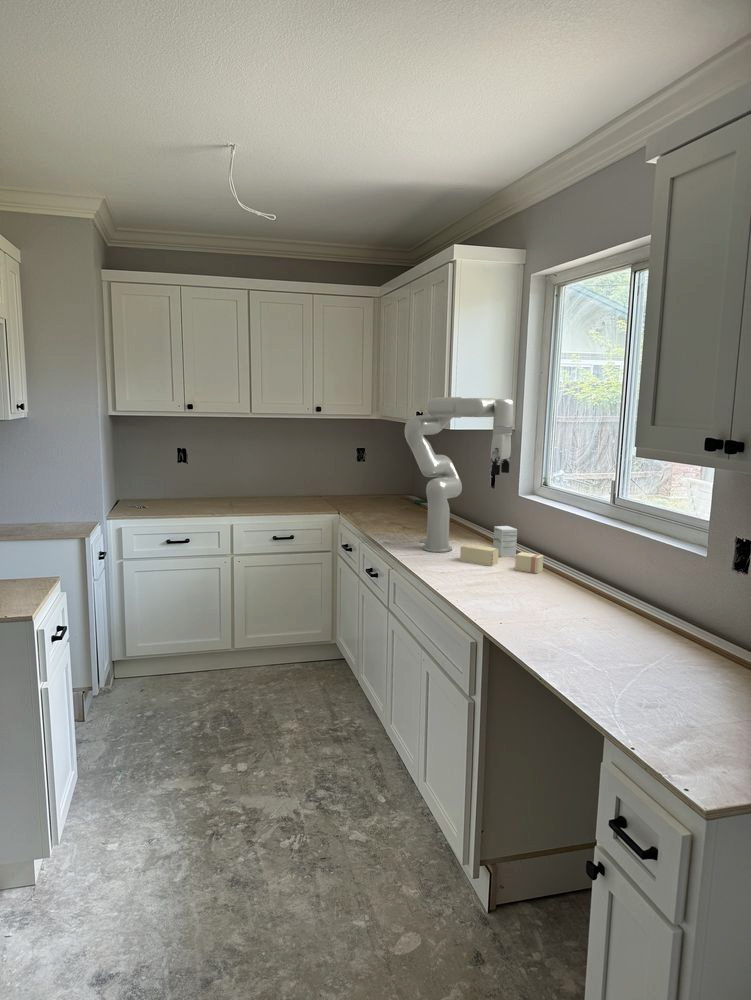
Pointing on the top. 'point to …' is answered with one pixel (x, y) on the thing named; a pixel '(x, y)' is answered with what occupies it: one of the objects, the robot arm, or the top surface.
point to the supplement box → (505, 541)
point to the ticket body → (479, 555)
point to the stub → (529, 562)
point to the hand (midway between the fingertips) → (500, 473)
